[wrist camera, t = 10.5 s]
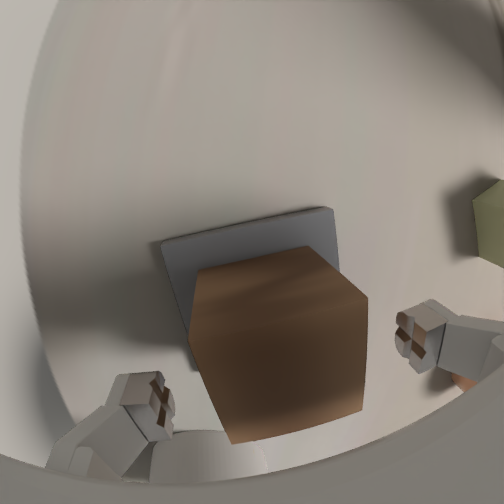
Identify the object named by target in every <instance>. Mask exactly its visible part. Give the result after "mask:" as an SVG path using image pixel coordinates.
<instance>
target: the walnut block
mask: <svg viewBox="0 0 504 504" xmlns="http://www.w3.org/2000/svg"><path fill="white" fill-rule="evenodd" d="M367 335H368V297H367V296H366V295H365V294H363V293H362V292H361V291H360V290H359V289H358V288H357V287H356V286H354V285H353V284H352V283H351V282H350V281H349V280H348V279H347V278H345V277H344V276H343V275H342V274H341V273H340V272H339V271H337V270H336V269H335V268H334V267H333V266H332V265H331V264H329V263H328V262H327V261H326V260H325V259H324V258H322V257H321V256H320V255H319V254H318V253H317V252H315V251H314V250H313V249H312V248H311V247H310V246H304V247H300V248H295V249H291V250H286V251H282V252H277V253H273V254H268V255H264V256H259V257H254V258H250V259H245V260H241V261H236V262H232V263H227V264H223V265H218V266H213V267H209V268H204V269H200V270H198V275H197V281H196V287H195V294H194V300H193V307H192V314H191V321H190V328H189V336H188V343H189V346H190V349H191V351H192V354H193V357H194V359H195V362H196V364H197V367H198V369H199V372H200V374H201V377H202V379H203V382H204V384H205V387H206V389H207V392H208V394H209V396H210V399H211V401H212V403H213V406H214V408H215V410H216V412H217V415H218V417H219V419H220V421H221V423H222V426H223V428H224V430H225V432H226V434H227V436H228V438H229V440H230V442H231V445H234V444H240V443H246V442H251V441H256V440H261V439H266V438H271V437H275V436H280V435H284V434H288V433H292V432H296V431H300V430H303V429H307V428H310V427H314V426H317V425H320V424H324V423H327V422H330V421H333V420H336V419H339V418H342V417H345V416H348V415H350V414H353V413H356V412H359V411H361V410H362V407H363V397H364V386H365V374H366V359H367Z"/></svg>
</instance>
